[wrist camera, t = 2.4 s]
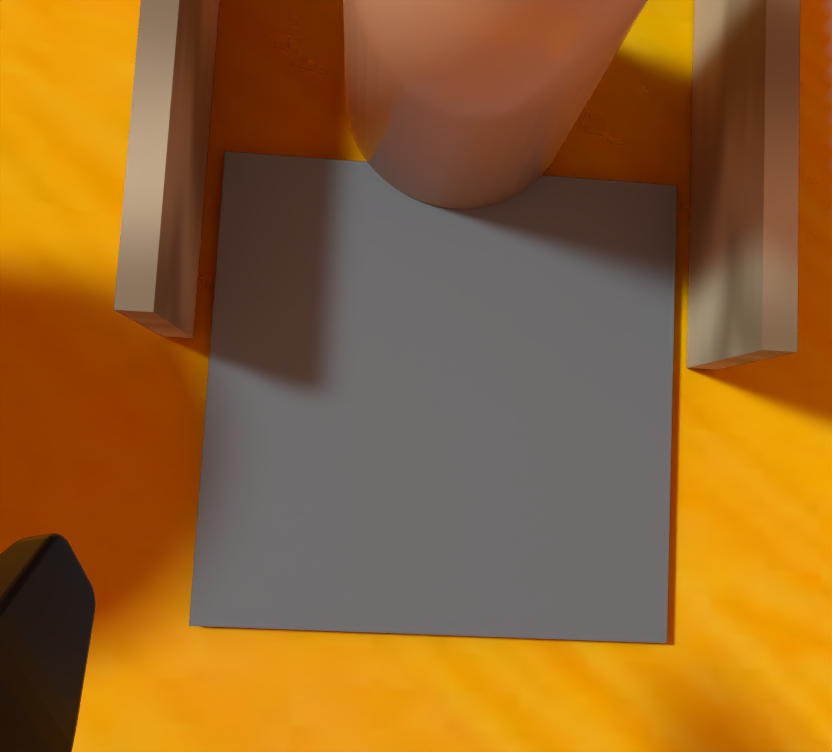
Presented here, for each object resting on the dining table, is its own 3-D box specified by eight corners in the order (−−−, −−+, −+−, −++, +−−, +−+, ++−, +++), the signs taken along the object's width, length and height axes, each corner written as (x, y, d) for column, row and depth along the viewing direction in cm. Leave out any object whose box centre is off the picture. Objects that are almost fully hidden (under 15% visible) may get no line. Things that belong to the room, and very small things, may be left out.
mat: (662, 640, 21) (666, 643, 20) (191, 622, 20) (188, 625, 20) (672, 189, 22) (676, 185, 21) (227, 155, 21) (225, 151, 21)
